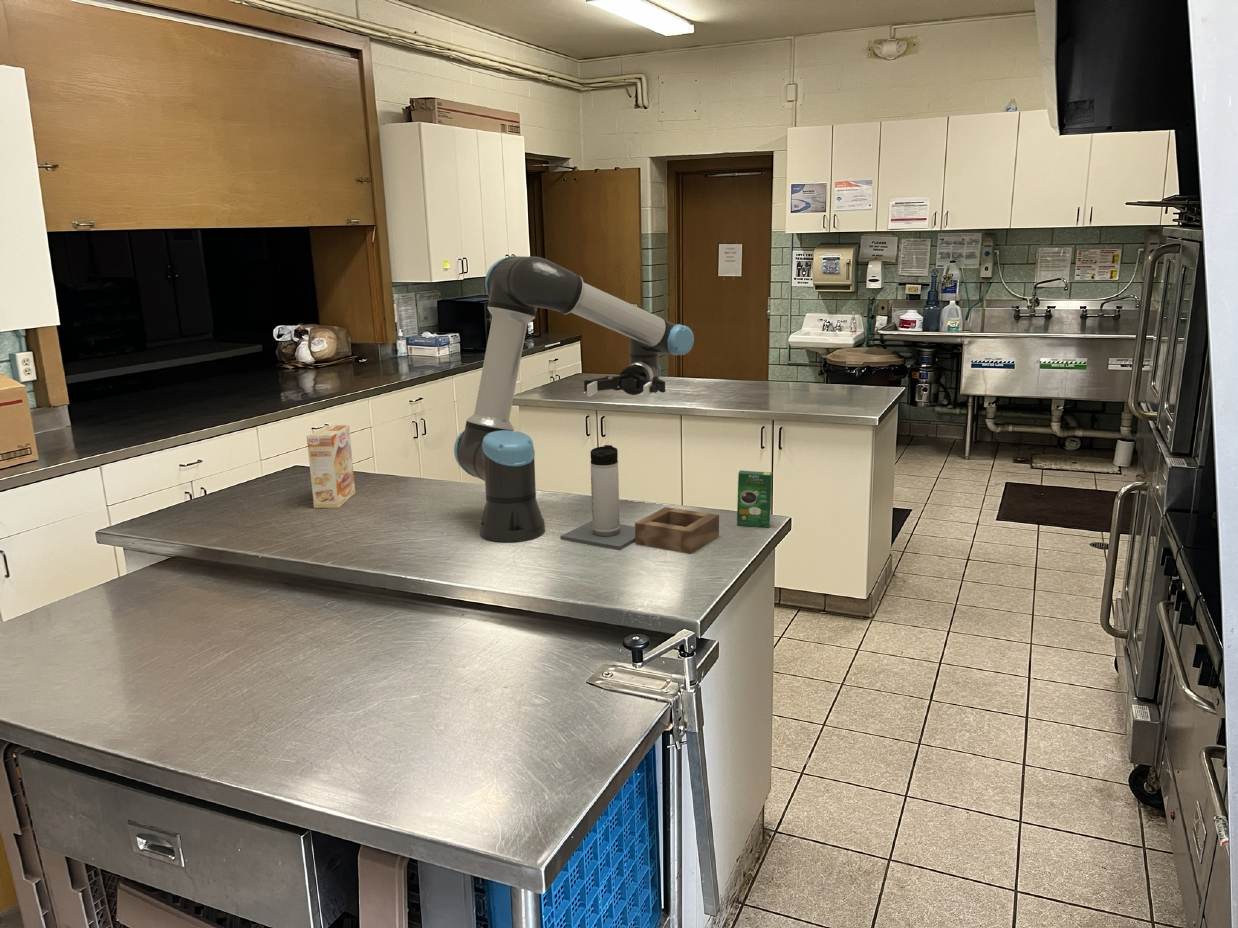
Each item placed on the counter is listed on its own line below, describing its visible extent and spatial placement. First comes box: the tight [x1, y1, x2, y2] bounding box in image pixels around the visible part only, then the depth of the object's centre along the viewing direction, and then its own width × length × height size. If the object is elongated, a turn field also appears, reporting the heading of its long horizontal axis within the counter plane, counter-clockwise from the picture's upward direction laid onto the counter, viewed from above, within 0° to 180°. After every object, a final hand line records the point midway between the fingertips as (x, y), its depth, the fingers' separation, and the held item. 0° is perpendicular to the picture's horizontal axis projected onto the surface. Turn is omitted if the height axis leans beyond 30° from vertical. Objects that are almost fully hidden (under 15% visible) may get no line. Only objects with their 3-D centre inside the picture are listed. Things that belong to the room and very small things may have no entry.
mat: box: [559, 520, 635, 551], centre depth 204 cm, size 16×14×1 cm
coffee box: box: [736, 469, 773, 528], centre depth 207 cm, size 8×3×13 cm, turn 74°
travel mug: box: [590, 444, 621, 537], centre depth 201 cm, size 6×7×20 cm
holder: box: [634, 506, 720, 555], centre depth 199 cm, size 14×14×5 cm
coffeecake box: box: [306, 424, 356, 509], centre depth 237 cm, size 15×7×20 cm, turn 179°
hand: (616, 391), depth 207 cm, fingers open, 13 cm apart
